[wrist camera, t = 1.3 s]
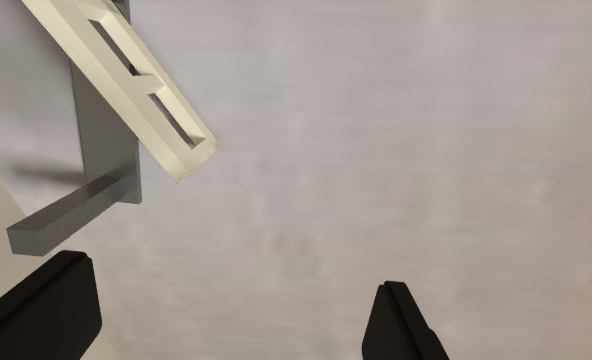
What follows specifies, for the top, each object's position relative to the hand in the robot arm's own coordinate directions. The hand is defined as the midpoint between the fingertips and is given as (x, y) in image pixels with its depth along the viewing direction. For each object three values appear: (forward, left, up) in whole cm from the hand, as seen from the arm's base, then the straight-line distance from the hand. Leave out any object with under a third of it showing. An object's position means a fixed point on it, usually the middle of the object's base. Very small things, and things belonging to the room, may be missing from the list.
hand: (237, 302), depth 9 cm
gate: (-4, -12, -25) cm, 28 cm away
